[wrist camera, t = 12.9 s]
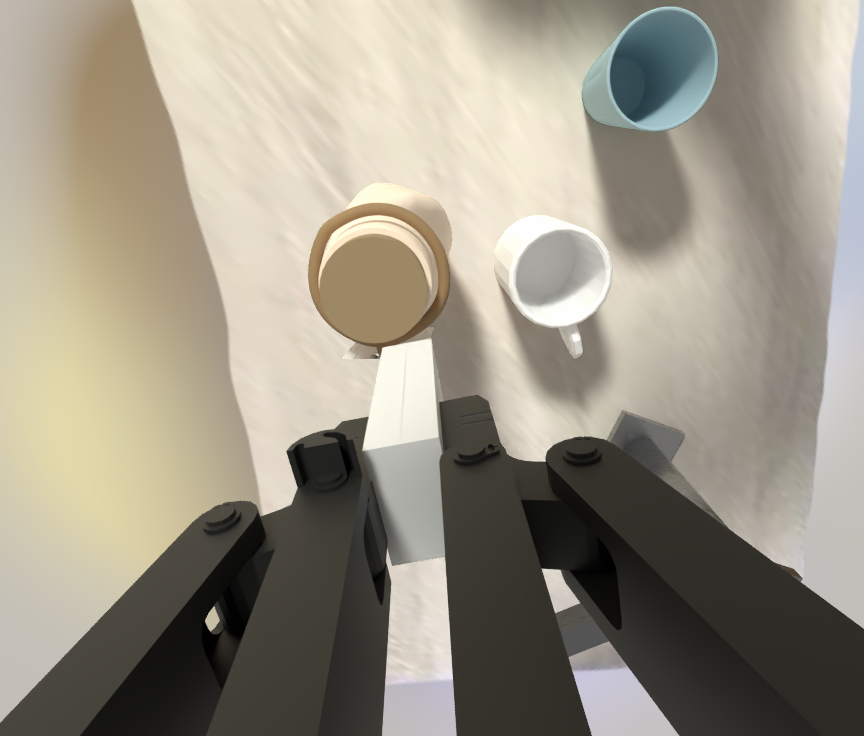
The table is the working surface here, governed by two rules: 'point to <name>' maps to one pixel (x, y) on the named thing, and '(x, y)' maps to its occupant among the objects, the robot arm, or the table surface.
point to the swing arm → (579, 630)
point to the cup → (653, 72)
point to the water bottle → (382, 268)
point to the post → (660, 456)
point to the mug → (554, 274)
